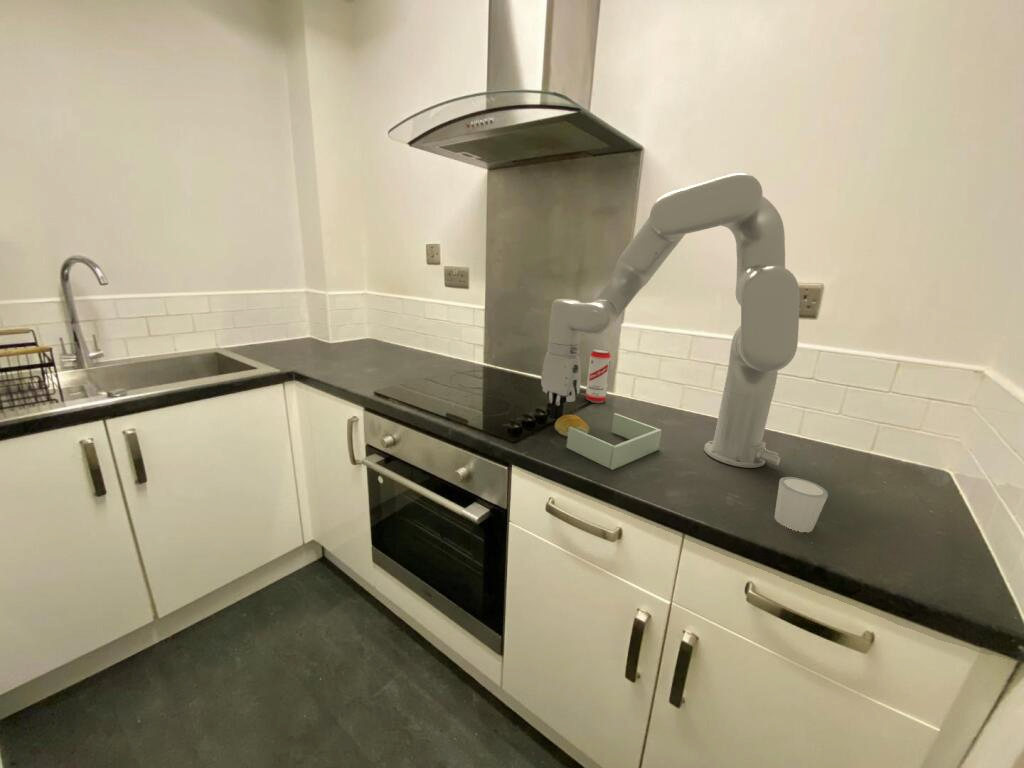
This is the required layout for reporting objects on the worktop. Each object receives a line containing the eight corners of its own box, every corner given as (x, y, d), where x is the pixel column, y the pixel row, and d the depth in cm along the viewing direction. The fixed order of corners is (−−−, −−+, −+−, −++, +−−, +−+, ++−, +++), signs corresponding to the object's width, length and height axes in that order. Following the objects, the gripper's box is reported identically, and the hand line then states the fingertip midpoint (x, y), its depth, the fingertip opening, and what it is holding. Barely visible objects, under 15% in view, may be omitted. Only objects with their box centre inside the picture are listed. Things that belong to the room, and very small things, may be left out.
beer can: (605, 404, 128) (611, 353, 123) (585, 402, 129) (590, 351, 124) (605, 398, 134) (611, 349, 129) (585, 396, 135) (590, 347, 130)
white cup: (798, 511, 75) (808, 476, 73) (827, 535, 69) (839, 498, 67) (761, 510, 75) (770, 475, 73) (787, 534, 68) (797, 496, 66)
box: (658, 449, 98) (661, 429, 96) (612, 469, 87) (615, 447, 85) (613, 431, 107) (615, 413, 106) (566, 447, 96) (568, 427, 95)
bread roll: (579, 424, 111) (580, 410, 110) (592, 437, 103) (594, 422, 102) (549, 425, 109) (550, 410, 108) (560, 439, 101) (562, 423, 100)
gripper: (595, 354, 102) (587, 424, 107) (552, 342, 112) (546, 407, 118) (574, 357, 97) (567, 430, 102) (531, 345, 108) (526, 411, 113)
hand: (556, 417), depth 110 cm, fingers closed
